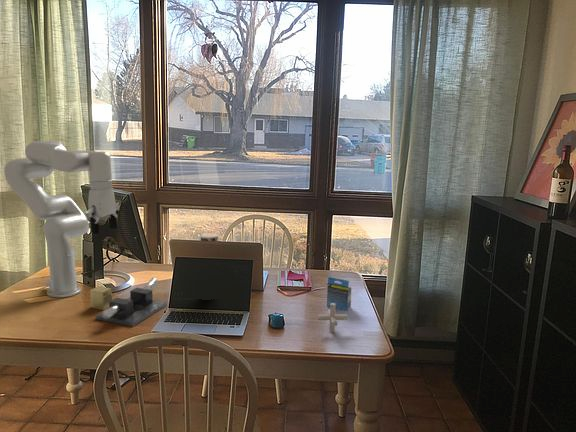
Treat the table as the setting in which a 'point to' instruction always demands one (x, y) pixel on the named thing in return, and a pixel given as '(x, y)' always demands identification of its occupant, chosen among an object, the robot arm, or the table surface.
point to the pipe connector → (332, 317)
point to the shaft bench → (133, 306)
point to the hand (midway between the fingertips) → (104, 230)
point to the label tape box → (339, 293)
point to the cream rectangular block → (100, 297)
